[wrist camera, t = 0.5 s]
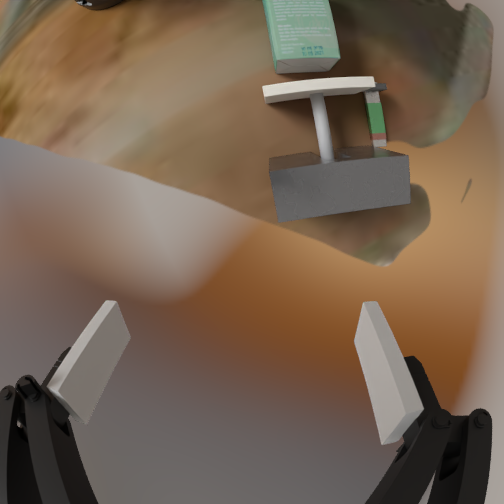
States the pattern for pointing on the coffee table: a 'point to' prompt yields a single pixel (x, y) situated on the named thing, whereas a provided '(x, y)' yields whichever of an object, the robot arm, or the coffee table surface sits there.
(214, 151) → the coffee table surface
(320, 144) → the plunger
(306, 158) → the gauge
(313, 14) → the box
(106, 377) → the robot arm
